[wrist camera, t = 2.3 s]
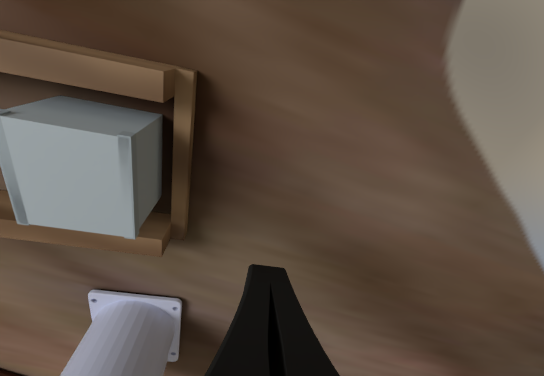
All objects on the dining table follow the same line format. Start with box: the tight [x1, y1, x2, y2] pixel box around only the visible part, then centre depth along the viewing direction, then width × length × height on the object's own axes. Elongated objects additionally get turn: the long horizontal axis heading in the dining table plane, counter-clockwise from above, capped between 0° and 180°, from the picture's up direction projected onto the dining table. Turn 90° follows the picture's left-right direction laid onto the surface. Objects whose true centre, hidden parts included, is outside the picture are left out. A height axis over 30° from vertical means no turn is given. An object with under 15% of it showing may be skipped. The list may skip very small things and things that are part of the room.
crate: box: [0, 95, 163, 240], centre depth 16 cm, size 6×6×5 cm
